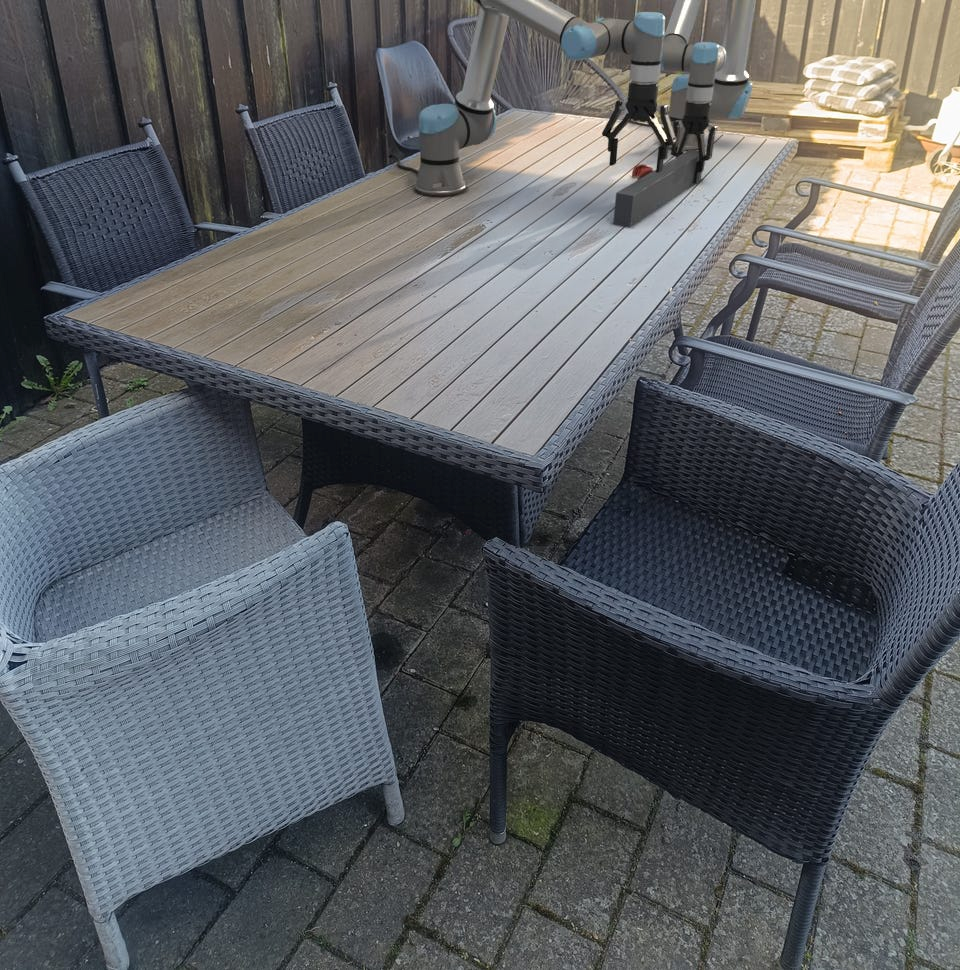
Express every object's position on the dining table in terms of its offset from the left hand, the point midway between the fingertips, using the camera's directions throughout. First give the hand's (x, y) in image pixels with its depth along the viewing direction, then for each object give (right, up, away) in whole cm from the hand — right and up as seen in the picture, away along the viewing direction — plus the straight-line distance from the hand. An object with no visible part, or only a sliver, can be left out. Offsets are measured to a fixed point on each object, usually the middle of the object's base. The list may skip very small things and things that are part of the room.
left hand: (635, 168), depth 227 cm
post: (+12, -1, +23) cm, 26 cm away
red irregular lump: (+10, +12, +41) cm, 44 cm away
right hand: (+23, +10, +37) cm, 45 cm away
